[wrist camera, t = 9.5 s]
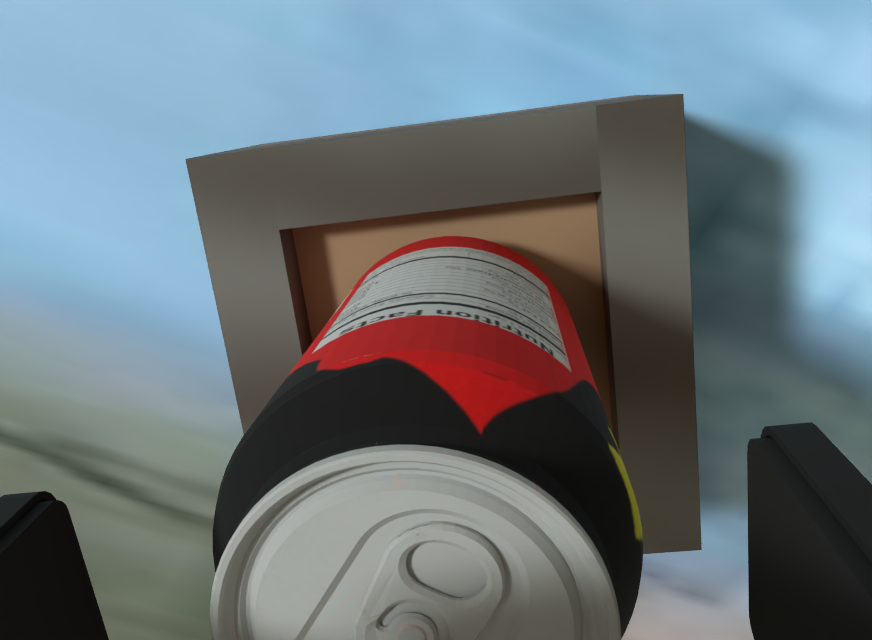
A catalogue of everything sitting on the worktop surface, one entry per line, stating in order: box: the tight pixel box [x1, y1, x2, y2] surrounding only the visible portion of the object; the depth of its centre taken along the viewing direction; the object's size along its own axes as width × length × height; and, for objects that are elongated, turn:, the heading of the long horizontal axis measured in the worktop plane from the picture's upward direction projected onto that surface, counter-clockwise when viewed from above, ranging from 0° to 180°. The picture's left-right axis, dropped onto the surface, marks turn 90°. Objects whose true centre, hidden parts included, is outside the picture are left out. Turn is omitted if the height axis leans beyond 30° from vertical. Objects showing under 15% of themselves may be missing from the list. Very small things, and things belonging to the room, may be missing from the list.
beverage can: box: [210, 236, 643, 640], centre depth 15 cm, size 6×6×12 cm
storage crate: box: [186, 94, 702, 554], centre depth 23 cm, size 12×12×6 cm
